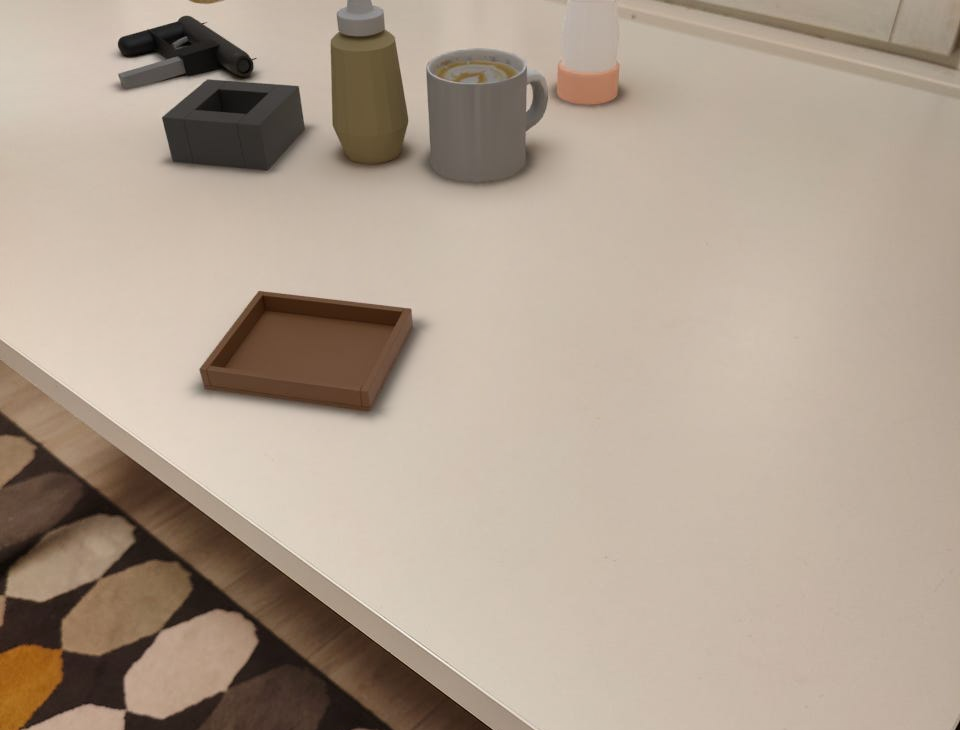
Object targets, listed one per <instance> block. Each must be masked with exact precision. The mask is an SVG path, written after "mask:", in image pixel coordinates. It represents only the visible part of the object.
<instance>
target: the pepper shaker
mask: <svg viewBox="0 0 960 730" xmlns="http://www.w3.org/2000/svg"><path fill="white" fill-rule="evenodd" d="M565 7H566V8H565V13H564V19H563V23H562V28H561V29H562V30H561V44H560V45H561V53H560V55H561V58H560V60H559V61H558V64H557V71H556V72H557V73H556V74H557V76H556V78H557V79H556V95H557V96H558V98H560V99H561V100H563V101H564V102H567V103H571V104H577V105H590V106H591V105H601V104H604V103H608V102H611V101H612V100H614V99H615V98H617V96H618V90H619V79H620V78H619V77H620V63H619V61H618V53H619V52H618V51H619V41H620V21H619V19H620V18H619V5H618V0H567V3H566V6H565Z"/></svg>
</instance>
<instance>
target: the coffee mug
mask: <svg viewBox="0 0 960 730" xmlns="http://www.w3.org/2000/svg"><path fill="white" fill-rule="evenodd" d="M425 69H426V71H425V72H426V73H425V74H426V91H427V109H428V110H427V111H428V131H429V147H430V148H429V149H430V164H431V168H432V170H434V172H435V173H437V174H438V175H440V176H442V177H444V178H446V179H449V180H451V181H452V180H453V181H456V182H463V183H489V182H490V183H491V182H495V181H496V182H497V181H501V180H504V179H507V178H511V177H513V176H514V175H516V174H518V173H519V172H521V171H522V169H524V167H525V165H526V150H527V149H526V146H527V143H526V142H527V132H528V131H529V130H530V129H532V128H534V127H535V126H536V125H537V124H538V123H539V122H540V121H541V120H542V119H543V117H544V115H545V112H546V111H547V107H548V102H549V87H548V84H547V80H546V78H545V76H544V75H543V74H542V73H541V72H540V71H538V70H536V69H533V68H528V66H527V62H526V60H525V59H524V58H522V56H520V55H518V54H515V53H513V52H510V51H507V50H502V49H497V48H496V49H495V48H482V47H481V48H479V47H476V48H475V47H473V48H461V49H455V50H450V51H447V52H443V53H441V54H438V55H436V56H434V57H432V58H431V59H430V60H429V61H428V62H427V64H426V68H425ZM528 85H529V86H531V89H532V90H531V91H532V101H531V104H530V107H529V108H528V109H527V91H528V90H527V88H528V87H527V86H528Z"/></svg>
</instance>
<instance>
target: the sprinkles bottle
mask: <svg viewBox="0 0 960 730" xmlns="http://www.w3.org/2000/svg"><path fill="white" fill-rule="evenodd" d="M188 1H189V2H191V3H194V4H200V5H209V4H210V5H211V4H216V3H221V2H223V1H225V0H188Z"/></svg>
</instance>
